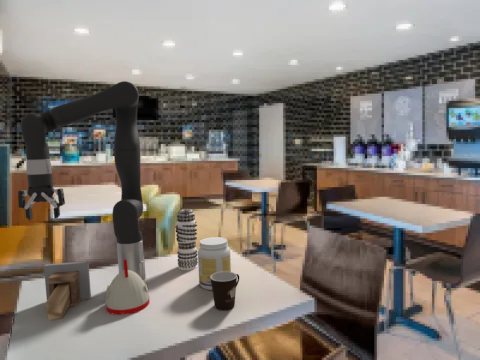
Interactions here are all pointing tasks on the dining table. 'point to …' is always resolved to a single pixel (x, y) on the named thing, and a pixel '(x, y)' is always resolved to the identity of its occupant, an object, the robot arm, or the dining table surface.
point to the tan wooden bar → (59, 301)
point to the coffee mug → (224, 289)
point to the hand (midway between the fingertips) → (43, 218)
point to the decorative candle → (186, 239)
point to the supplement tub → (212, 259)
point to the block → (64, 278)
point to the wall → (66, 267)
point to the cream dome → (126, 293)
